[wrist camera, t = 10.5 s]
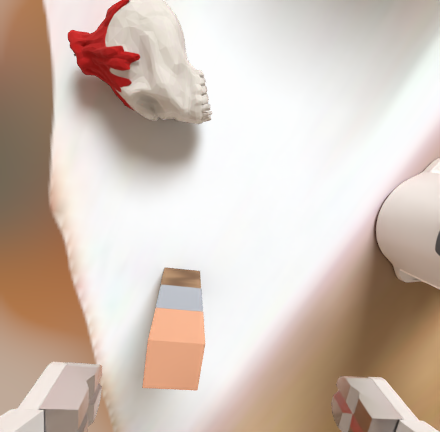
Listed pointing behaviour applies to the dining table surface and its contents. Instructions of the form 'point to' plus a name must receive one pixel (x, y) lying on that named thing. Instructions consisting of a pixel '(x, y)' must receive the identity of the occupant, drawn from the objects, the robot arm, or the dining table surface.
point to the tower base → (181, 278)
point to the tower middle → (180, 298)
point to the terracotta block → (174, 350)
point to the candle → (144, 61)
